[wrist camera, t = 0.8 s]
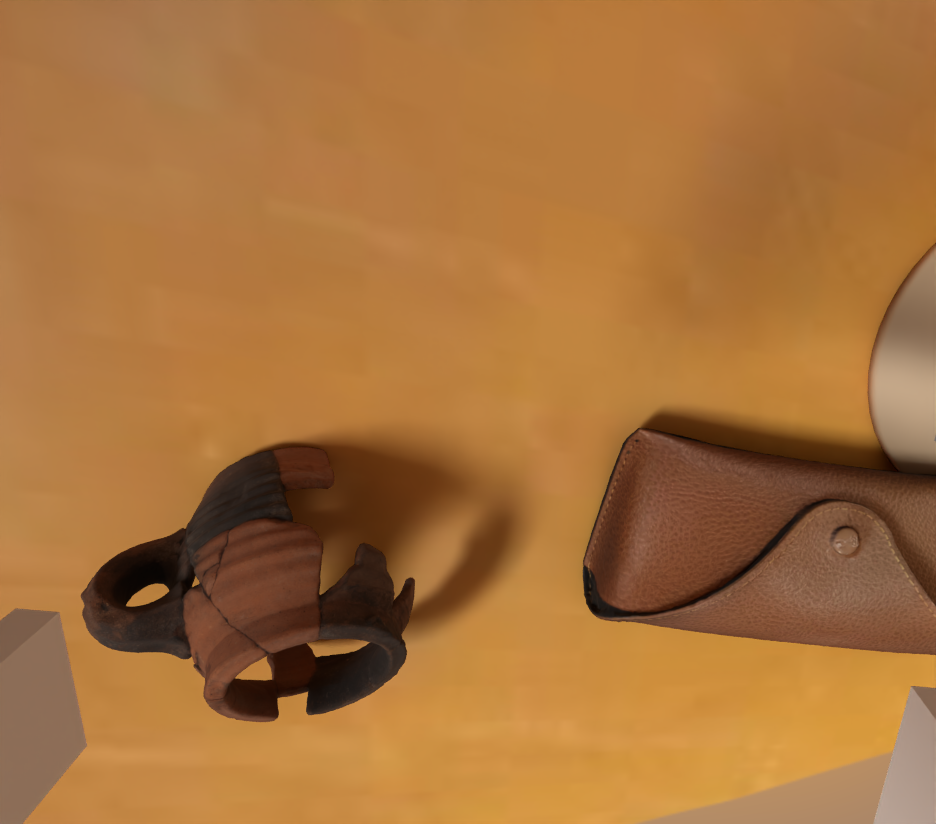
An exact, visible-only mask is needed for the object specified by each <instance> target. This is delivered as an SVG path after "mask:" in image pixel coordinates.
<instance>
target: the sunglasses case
mask: <svg viewBox="0 0 936 824" xmlns="http://www.w3.org/2000/svg"><path fill="white" fill-rule="evenodd" d="M583 565H584V567H583V582H584V596H585V598H586V604H587V605H588V607H589V609H590V611H591V612H592V613H593V614H594V615H595V616H596V617H598V618H600V619H604V620H609V621H617V622H621V621H626V622H637V623H644V624H650V625H655V626H660V627H668V628H674V629H681V630H688V631H695V632H703V633H712V634H718V635H727V636H734V637H746V638H754V639H761V640H771V641H779V642H791V643H800V644H809V645H820V646H829V647H841V648H850V649H860V650H871V651H881V652H894V653H912V654H930V655H936V475H929V474H914V473H903V472H893V471H884V470H875V469H867V468H861V467H852V466H845V465H836V464H828V463H821V462H816V461H807V460H800V459H795V458H787V457H783V456H774V455H769V454H761V453H757V452H752V451H746V450H741V449H736V448H730V447H725V446H719V445H713V444H709V443H706V442H702V441H699V440H695V439H692V438H688V437H683V436H679V435H675V434H670V433H666V432H661V431H657V430H652V429H644V428H638V429H637V430H636V431H635V432H634V433H632V434H631V435H630V436H629V437H628V438H627V439H626V440H625V442H624V443H623V445H622V448H621V450H620V453H619V456H618V458H617V461H616V463H615V466H614V469H613V471H612V474H611V476H610V479H609V482H608V485H607V489H606V492H605V495H604V497H603V500H602V503H601V506H600V510H599V513H598V516H597V518H596V521H595V524H594V527H593V530H592V533H591V537H590V540H589V543H588V546H587V550H586V553H585V557H584V560H583Z"/></svg>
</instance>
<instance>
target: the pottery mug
mask: <svg viewBox="0 0 936 824" xmlns="http://www.w3.org/2000/svg"><path fill="white" fill-rule="evenodd" d="M333 483H334V473H333V471H332V469H331V468H330V465H329V460H328V457H327V454H326V452H325V451H323V450H322V449H315V448H310V447H290V448H283V449H276V450H273V451H265V452H261V453H258V454H255V455H252V456H248V457H245V458H243V459H241V460H240V461H238V462H236V463H234V464H232V465H230V466H228V467H227V468H226V469H224V470H223V471H222V472H220V473H219V474H218V475H217V476H216V478H215V479H214V481H213V482H212V483H211V485H210V486H209V488H208V489H207V491H206V493H205V495H204V497H203V500H202V502H201V503H200V505H199V506H198V508H197V510H196V512H195V513H194V515H193V517H192V519H191V521H190V522H189V523H188V525H187V527H186V529H184V528H182V529H180V530H179V531H177V532H176V533H174V534H172V535H170V536H167V537H164V538H161V539H157V540H153V541H150V542H146V543H143V544H140V545H137V546H135V547H132V548H130V549H128V550H126V551H124V552H121V553H120V554H118V555H116V556H115V557H114V558H112V559H111V560H109V561H108V562H107V563H106V564H104V565H103V566H102V567H101V568H100V569H99V571H98V572H97V573H96V575H95V576H94V577H93V578H92V580H91V581H90V582H89V584H88V586H87V588H86V589H85V590H84V591H83V593H82V594H81V598H82V600H83V602H84V605H85V607H84V609H83V612H82V615H83V618H84V620H85V623H86V627H87V629H88V631H89V632H90V634H91V635H92V636H93V637H94V638H95V639H96V640H98V641H99V642H100V643H101V644H103V645H104V646H106V647H108V648H111V649H114V650H118V651H125V652H136V653H140V652H164V653H169V654H172V655H175V656H177V657H179V658H181V659H189V658H190V657H192V658H193V660H194V663H195V664H194V668H195V669H196V670H197V671H198V672H199V673H200V674H201V675H202V676H203V677H204V678H205V687H204V698H205V699H206V702H207V703H208V704H209V706H210V707H211V708H212V709H213V710H215V711H216V712H217V713H219V714H221V715H223V716H226V717H228V718H235V719H236V720H243V721H253V722H270V721H274V720H275V719H277V718H278V715H279V711H278V704H277V698H280V697H288V696H293V695H297V694H301V693H305V692H308V691H309V692H308V698H307V708H306V712H307V714H308V715H314V714H323V713H326V712H329V711H333V710H336V709H339V708H342V707H344V706H346V705H349V704H352V703H354V702H356V701H358V700H360V699H362V698H364V697H366V696H368V695H369V694H371V693H373V692H375V691H376V690H377V689H378V688H380V687H381V686H383V685H384V683H385V682H387V681H389V680H390V679H391V678H392V677H393V676H395V675H396V674H397V673H398V671H399V669H400V668H401V667H402V665H403V664H404V662H405V659H406V655H407V650H406V647H405V642H404V640H403V639H402V636H401V634H402V632H403V631H404V629H405V627H406V625H407V623H408V621H409V617H410V613H411V610H412V605H413V600H414V590H415V580H414V579H413V578H408V579H406V581H405V584H404V586H403V588H402V591H401V593H400V594H399V595H398V596H397V597H396V599H395V600H394V585H393V581H392V579H391V577H390V575H389V573H388V572H387V569H386V558H385V556H384V555H383V553H381V552H380V551H379V550H377V549H376V548H374V547H373V546H371V545H369V544H365V543H362V544H360V545H359V547H358V548H357V551H356V556H355V564H354V565H353V566H352V567H350V568H349V569H348V571H347V572H346V574H345V575H344V576H343V577H342V578H341V579H340V580H339V581H338V582H337V583H336V584H335V585H334V586H332V587H331V588H329V589H328V590H327V591H326V592H325V593H323V594H322V595H320V594H319V589H320V571H321V560H322V554H323V543H322V541H321V540H320V539H319V536H318V535H317V533H316V532H315V531H314V530H313V529H312V528H311V527H310V526H307V525H304V524H301V523H294V522H293V521H292V520H293V516H292V512H291V510H290V508H289V506H288V504H287V501H286V498H285V491H288V490H295V489H306V488H323V489H328V488H331V487H332V486H333ZM195 576H196V577H197V579H198V580H199V582H200V584H199V585H196V586H194V587H192V584H193V582H194V579H195ZM155 583H158V584H164V585H166V586H167V587H168V589H169V592H168V593H167V594H166V595H164V596H163V597H162V598H160V599H158V600H156V601H154V602H151V603H149V604H146V605H142V606H136V607H128V606H126V604H127V602H128V601H129V600H130V599H131V597H132V596H133V595H134V594H135V593H137V592H138V591H140V590H141V589H143V588H144V587H146V586H148V585H151V584H155ZM393 600H394V601H393ZM319 639H359V640H364V641H368V642H370V643H369V644H367V645H366V646H364V647H362V648H361V649H359V650H357V651H355V652H350V653H346V654H336V655H330V656H320V657H315V655H314V653H313V651H312V649H311V648H310V647H309V646H308V644H307V643H308V642H314V641H316V640H319ZM266 656H267V661H268V663H269V665H270V667H271V671H272V680H266V681H263V680H241V679H235V677H236V676H237V675H238V674H239V673H240V672H241V671H243V670H244V669H246V668H247V667H248V666H250V665H251V664H253V663H255V662H257V661H259V660H260V659H262V658H264V657H266Z"/></svg>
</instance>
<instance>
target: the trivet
mask: <svg viewBox="0 0 936 824" xmlns="http://www.w3.org/2000/svg"><path fill="white" fill-rule="evenodd" d="M868 400H869V410H870V416H871V420H872V424H873V428H874V431H875V434H876V436H877V438H878V441H879V443H880V445H881V448H882V449H883V451H884V452H885V454H886V456H887V457H888V459H889V460H890V462H891V463H892V464H893V465H894V466H895V468H896V469H897V470H898V471H899V472H903V473H914V474H929V475H936V441H934V440H935V436H936V244H934V245H933V246H932V247H931V248H930V249H929V250H928V251H927V253H926V254H925V255H924V256H923V257H922V258H921V259H920V261H919V262H918V263H917V264H916V265H915V266H914V267H913V269H912V270H911V272H910V273H909V274H908V276H907V277H906V279H905V280H904V281H903V283H902V284H901V286H900V287H899V289H898V291H897V292H896V294H895V296H894V298H893V299H892V301H891V303H890V305H889V307H888V308H887V311H886V313H885V315H884V318H883V320H882V322H881V325H880V327H879V330H878V333H877V336H876V340H875V343H874V346H873V350H872V355H871V361H870V367H869V373H868Z"/></svg>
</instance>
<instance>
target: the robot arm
mask: <svg viewBox="0 0 936 824" xmlns="http://www.w3.org/2000/svg"><path fill="white" fill-rule="evenodd" d="M86 746H87V743H86V739H85V734H84V729H83V724H82V719H81V715H80V710H79V705H78V700H77V695H76V691H75V686H74V681H73V676H72V671H71V667H70V662H69V657H68V652H67V647H66V643H65V638H64V633H63V628H62V623H61V619H60V614H59V612H51V611H39V610H28V609H14V610H13V611H12V612H11V613H9V614H8V615H7V616H6V617H4V618H3V619H2V620H1V621H0V824H23V822H24V821H25V820H26V819H27V818H28V816H29V815H30V814H31V813H32V812H33V810H34V809H35V808H36V807H37V805H38V804H39V803H40V802H41V801H42V799H43V798H44V797H45V796H46V795H47V793H48V792H49V791H50V790H51V789H52V787H53V786H54V785H55V784H56V782H57V781H58V780H59V779H60V778H61V776H62V775H63V774H64V773H65V772H66V770H67V769H68V768H69V767H70V766H71V764H72V763H73V762H74V761H75V759H76V758H77V757H78V756H79V755H80V753H81V752H82V751H83V750H84V749H85V747H86ZM873 824H936V688H928V687H916V686H911V689H910V693H909V696H908V700H907V703H906V707H905V711H904V714H903V718H902V722H901V725H900V729H899V732H898V736H897V740H896V743H895V747H894V751H893V754H892V758H891V762H890V765H889V769H888V772H887V776H886V780H885V783H884V787H883V791H882V794H881V798H880V801H879V805H878V809H877V812H876V816H875V820H874V823H873Z"/></svg>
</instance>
